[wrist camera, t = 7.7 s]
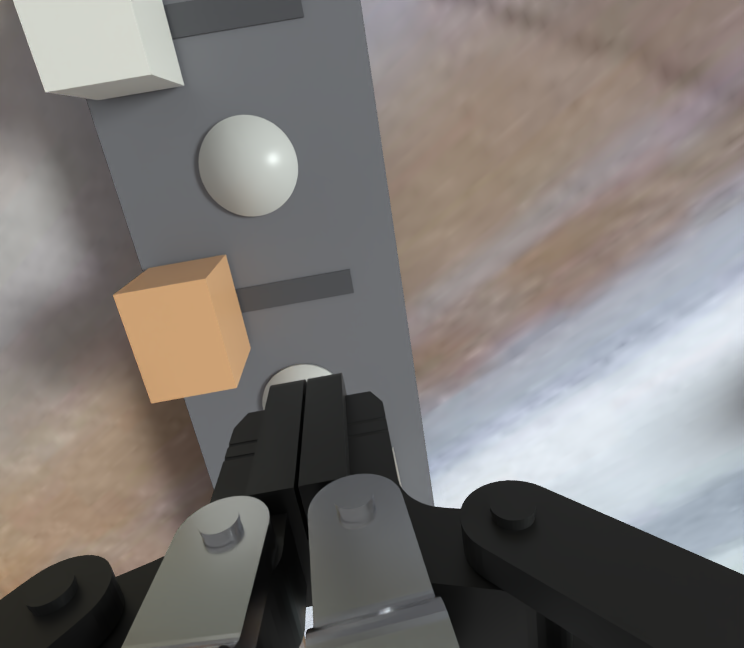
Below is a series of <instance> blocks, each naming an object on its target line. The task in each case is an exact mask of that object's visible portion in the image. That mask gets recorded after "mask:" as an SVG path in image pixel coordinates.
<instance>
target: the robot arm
mask: <svg viewBox="0 0 744 648" xmlns="http://www.w3.org/2000/svg"><path fill="white" fill-rule="evenodd" d="M310 606H313V628H310V629H308V630H307V632H306V640H305V636H304V631H305V614H306V607H310ZM0 648H744V575H743V574H740V573H738V572H736V571H734V570H731V569H729V568H727V567H724V566H722V565H720V564H718V563H715V562H713V561H711V560H708V559H706V558H704V557H702V556H699V555H697V554H695V553H692V552H690V551H688V550H685V549H683V548H681V547H679V546H676V545H674V544H672V543H669V542H667V541H665V540H663V539H660V538H658V537H656V536H653V535H651V534H649V533H647V532H644V531H642V530H640V529H637V528H635V527H633V526H630V525H628V524H626V523H624V522H621V521H619V520H617V519H614V518H612V517H610V516H608V515H605V514H603V513H601V512H598V511H596V510H594V509H592V508H589V507H587V506H585V505H582V504H580V503H578V502H575V501H573V500H571V499H569V498H566V497H564V496H562V495H559V494H557V493H555V492H553V491H550V490H548V489H546V488H543V487H541V486H538V485H536V484H533V483H528V482H524V481H510V480H507V481H498V482H493V483H490V484H487V485H484V486H482V487H480V488H478V489H476V490H475V491H473V492H472V493H471V494H470V495H469V496H468V497H467V498H466V499H465V501H464V503H463V504H462V507H461V509H455V508H442V507H434V506H430V505H426V504H424V503H421V502H419V501H417V500H415V499H413V498H412V497H410V496H409V495H408V494H407V493H406V492H405V491H404V490H403V489H402V487H401V485H400V483H399V480H398V476H397V471H396V466H395V461H394V456H393V451H392V446H391V441H390V436H389V431H388V426H387V421H386V416H385V411H384V406H383V402H382V401H381V400H380V399H379V398H378V397H377V396H375V395H374V394H373V393H372V392H371V391H368V392H362V393H357V394H351V395H347V393H346V388H345V383H344V378H343V375H342V373H337V374H332V375H326V376H320V377H315V378H309V379H307V381H306V380H305V379H304V380H298V381H293V382H287V383H281V384H276V385H271V386H270V388H269V392H268V397H267V401H266V405H265V410H262V411H256V412H250V413H248V414H247V415H246V416H245V417H244V418H243V419H242V420H241V421H240V422H239V423H238V424H237V425H236V427H235V428H234V429H233V433H232V436H231V439H230V442H229V448H227V451H226V455H225V461H223V464H222V467H221V470H220V473H219V477H218V480H217V483H216V486H215V489H214V492H213V495H212V499H211V502H210V504H208V505H206V506H204V507H202V508H201V509H199V510H197V511H196V512H195V513H193V514H192V515H191V516H189V517H188V518H187V519H186V520H185V521H184V522H183V523H182V525H181V526H180V527H179V528H178V530H177V532H176V534H175V535H174V537H173V540H172V542H171V544H170V546H169V548H168V550H167V552H166V554H165V556H164V557H162V558H159V559H157V560H155V561H153V562H150V563H148V564H146V565H143V566H141V567H139V568H136V569H134V570H131V571H129V572H127V573H124V574H122V575H119V576H117V577H115V575H114V572H113V570H112V568H111V566H110V564H109V562H108V561H107V560H105V559H104V558H102V557H99V556H94V555H84V556H77V557H73V558H69V559H66V560H64V561H61V562H58V563H56V564H54V565H52V566H50V567H48V568H46V569H44V570H42V571H41V572H39V573H38V574H36V575H35V576H33V577H31V578H30V579H29V580H27V581H26V582H24V583H23V584H22V585H20V586H19V587H18V588H16V589H15V590H13V591H12V592H11V593H9V594H8V595H6V596H5V597H4V598H2V599H1V600H0Z"/></svg>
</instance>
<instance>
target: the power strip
mask: <svg viewBox="0 0 744 648" xmlns="http://www.w3.org/2000/svg"><path fill="white" fill-rule="evenodd" d="M162 2H163V6H164V10H165V14H166V18H167V21H168V25H169V29H170V33H171V37H172V40H173V44H174V48H175V52H176V56H177V59H178V63H179V67H180V71H181V75H182V78H183V82H184V86H180V87H174V88H168V89H162V90H156V91H150V92H144V93H138V94H132V95H126V96H121V97H115V98H109V99H103V100H93V99H86V100H87V103H88V106H89V109H90V112H91V116H92V119H93V122H94V125H95V128H96V131H97V134H98V137H99V140H100V143H101V146H102V149H103V152H104V155H105V158H106V161H107V164H108V167H109V171H110V174H111V177H112V180H113V183H114V186H115V189H116V192H117V195H118V198H119V201H120V204H121V207H122V210H123V213H124V216H125V219H126V222H127V225H128V229H129V232H130V235H131V238H132V241H133V244H134V247H135V250H136V253H137V256H138V259H139V262H140V265H141V268H142V271H143V272H144V271H145V270H147V269H148V268H152V267H157V266H163V265H169V264H174V263H180V262H186V261H191V260H197V259H203V258H208V257H214V256H220V255H225V254H226V257H227V260H228V264H229V268H230V272H231V276H232V279H233V283H234V287H235V291H236V294H237V298H238V302H239V306H240V309H241V313H242V317H243V321H244V324H245V328H246V332H247V336H248V340H249V343H250V347H251V349H250V352H249V355H248V358H247V360H246V363H245V366H244V369H243V372H242V375H241V377H240V380H239V383H238V386H237V388H234V389H228V390H223V391H217V392H212V393H206V394H201V395H195V396H190V397H184V399H185V403H186V406H187V409H188V412H189V415H190V418H191V421H192V424H193V427H194V430H195V433H196V436H197V439H198V442H199V445H200V448H201V451H202V454H203V457H204V461H205V464H206V467H207V470H208V473H209V476H210V479H211V482H212V485H213V488H214V489H215V486H216V483H217V480H218V477H219V473H220V470H221V467H222V464H223V461H225V455H226V451H227V448H229V442H230V439H231V436H232V433H233V429H234V428H235V427H236V425H237V424H238V423H239V422H240V421H241V420H242V419H243V418H244V417H245V416H246V415H247V414H248V413H250V412H256V411H262V410H265V405H266V401H267V397H268V392H269V388H270V386H271V385H276V384H281V383H287V382H293V381H298V380H304V379H305V380H306V381H307V379H309V378H315V377H320V376H326V375H332V374H337V373H342V375H343V378H344V383H345V388H346V393H347V395H351V394H357V393H362V392H368V391H371V392H372V393H373V394H374V395H375V396H377V397H378V398H379V399H380V400H381V401H382V402H383V406H384V411H385V416H386V421H387V426H388V431H389V436H390V441H391V446H392V448H394V453H395V458H396V462H397V467H398V472H399V476H400V481H401V486H402V489H403V490H404V491H405V492H406V493H407V494H408V495H409V496H410V497H412V498H413V499H415V500H417V501H419V502H421V503H424V504H426V505H430V506H434V500H433V493H432V487H431V480H430V473H429V466H428V459H427V452H426V446H425V439H424V432H423V425H422V418H421V411H420V404H419V398H418V391H417V384H416V377H415V370H414V363H413V357H412V350H411V343H410V336H409V329H408V322H407V315H406V309H405V302H404V295H403V288H402V281H401V274H400V268H399V261H398V254H397V247H396V240H395V233H394V226H393V220H392V213H391V206H390V199H389V192H388V185H387V179H386V172H385V165H384V158H383V151H382V144H381V137H380V131H379V124H378V117H377V110H376V103H375V96H374V90H373V83H372V76H371V69H370V62H369V55H368V48H367V42H366V35H365V28H364V21H363V14H362V7H361V1H360V0H162Z"/></svg>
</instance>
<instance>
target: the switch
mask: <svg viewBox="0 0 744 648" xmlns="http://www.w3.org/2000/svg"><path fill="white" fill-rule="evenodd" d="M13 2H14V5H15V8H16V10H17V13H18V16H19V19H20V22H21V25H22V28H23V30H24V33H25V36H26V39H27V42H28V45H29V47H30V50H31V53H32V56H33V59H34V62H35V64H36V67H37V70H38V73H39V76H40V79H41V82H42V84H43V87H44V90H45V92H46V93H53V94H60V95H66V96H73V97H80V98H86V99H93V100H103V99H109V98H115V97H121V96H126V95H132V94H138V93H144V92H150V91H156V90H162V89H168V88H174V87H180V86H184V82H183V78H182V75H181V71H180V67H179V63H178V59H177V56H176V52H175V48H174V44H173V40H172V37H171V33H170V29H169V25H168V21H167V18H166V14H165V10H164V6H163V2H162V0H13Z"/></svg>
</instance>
